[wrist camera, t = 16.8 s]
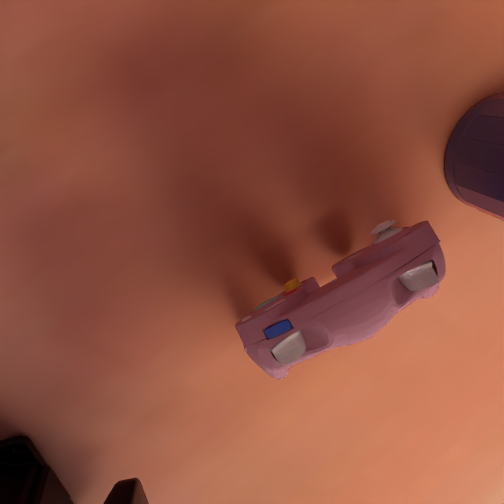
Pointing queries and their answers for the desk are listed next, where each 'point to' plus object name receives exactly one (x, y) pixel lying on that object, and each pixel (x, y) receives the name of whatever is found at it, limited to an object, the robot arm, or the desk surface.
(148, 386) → the desk surface
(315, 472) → the desk surface
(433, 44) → the desk surface
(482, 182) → the pencil cup
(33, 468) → the robot arm
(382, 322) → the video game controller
